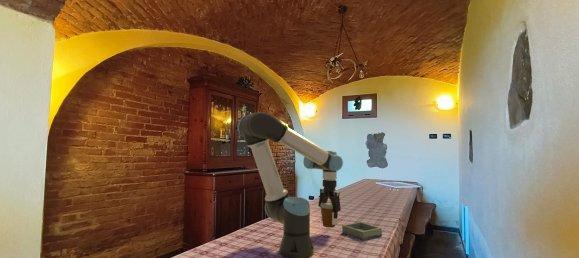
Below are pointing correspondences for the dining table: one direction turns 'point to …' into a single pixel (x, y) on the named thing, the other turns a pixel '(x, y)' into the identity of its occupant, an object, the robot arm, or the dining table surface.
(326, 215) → the disposable coffee cup
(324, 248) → the dining table surface
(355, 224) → the bin
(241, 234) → the dining table surface
